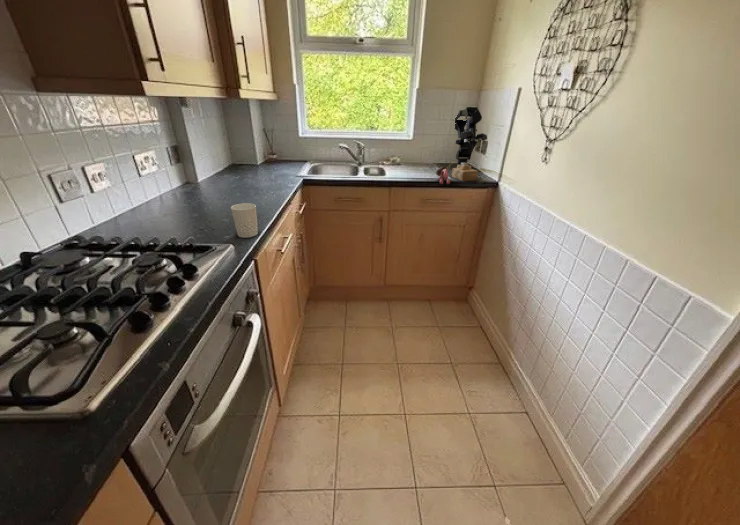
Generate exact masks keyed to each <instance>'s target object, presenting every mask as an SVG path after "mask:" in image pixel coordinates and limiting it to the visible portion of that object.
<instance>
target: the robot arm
mask: <svg viewBox="0 0 740 525" xmlns="http://www.w3.org/2000/svg"><path fill="white" fill-rule="evenodd" d="M457 114H458V115H457ZM457 114H456V115H457V117H456V118H455V117H454V118H455V123H456V124H455V128H454V130H455V131H457V137H458V138H456V139H455V145H458V146H459V147H458V150H457V152H456V154H455V159H456V160H457V165H461V163H468V160H469V161H470V160H471V157H472V154H473V153H474V149H475V147H476V145H477V144H479V140H482V141H486V140H488V135H487V134H486V133H483V132H482V133H477V132H478V129H477V125H478V124H479V123H480V122H481V121H482V118H483V116H482V113H481V112H480V109H479V106H469V105H468V106H465V108H464V109H459V110H458V113H457ZM461 117H465V119H467V120H466V121H463V120H457V119H458V118H461ZM466 123H467V124H466ZM464 128H465V129H464ZM454 168H457V166H455V167H454Z"/></svg>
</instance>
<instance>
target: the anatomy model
mask: <svg viewBox="0 0 740 525" xmlns="http://www.w3.org/2000/svg"><path fill="white" fill-rule="evenodd" d="M438 163H439V162H438V161H436V162H434V164H435V165H434V169H436V168H437V166H438V168H437V169H436V170H434V172H435V174H436V176H437V177H438V178H437V179H436V181H439V185H443V184H444V180H445V181H446V185H450V184H451V180H450V179H449V176H450V174H449V171H450V168H451V165H453V164H454V162H453V161H451V163H450V164H449V165H448V166H447V167H446V166H445V165H442V166H441V165H440V164H438Z"/></svg>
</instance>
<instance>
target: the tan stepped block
mask: <svg viewBox="0 0 740 525" xmlns="http://www.w3.org/2000/svg"><path fill="white" fill-rule="evenodd" d="M456 167H457V168H455V167H452V170H451V178H454V179H456V180H459V181H462V182H467V181H478V175H479V170H478V169H477V170H476V169H473V168H472V165H469V164H468V166H462V165H457V166H456Z"/></svg>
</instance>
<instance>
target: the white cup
mask: <svg viewBox="0 0 740 525" xmlns="http://www.w3.org/2000/svg"><path fill="white" fill-rule="evenodd" d="M230 211H231V215H232V220H233V224H234V227H235V231H236V234H237V237H239V238H243V239H247V238H252V237H256V236H257V235H258V233H259V229H258V214H257V205H256V204H254V203H251V202H244V203H237V204H234V205H231V206H230Z"/></svg>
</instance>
